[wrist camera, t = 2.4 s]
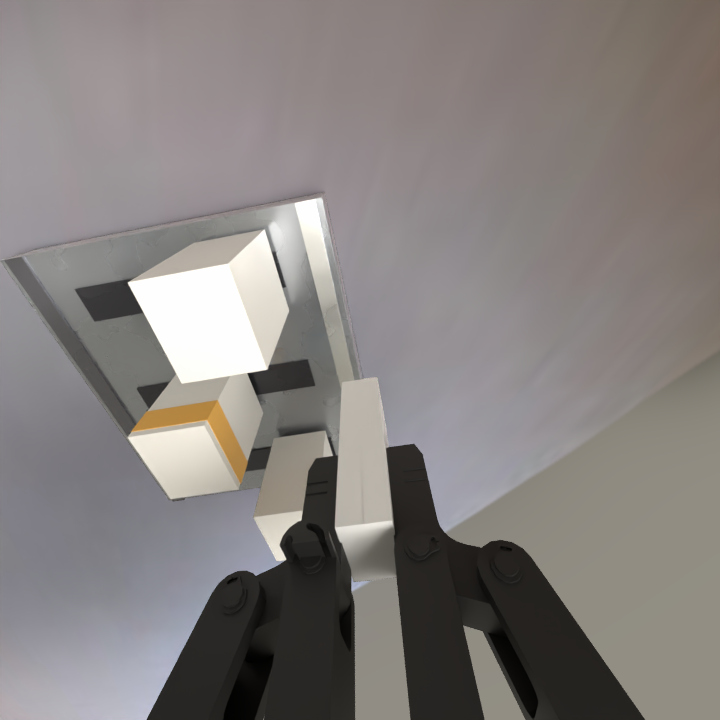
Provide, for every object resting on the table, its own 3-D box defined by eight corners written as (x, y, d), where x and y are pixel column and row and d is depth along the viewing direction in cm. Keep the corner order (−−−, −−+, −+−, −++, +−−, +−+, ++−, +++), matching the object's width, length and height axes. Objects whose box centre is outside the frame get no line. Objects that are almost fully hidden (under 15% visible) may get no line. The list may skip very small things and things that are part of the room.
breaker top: (226, 321, 16) (181, 383, 12) (193, 242, 14) (127, 282, 10) (289, 310, 16) (267, 369, 12) (264, 229, 14) (228, 263, 10)
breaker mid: (210, 421, 19) (170, 499, 15) (181, 366, 17) (126, 437, 13) (263, 413, 19) (239, 489, 15) (240, 356, 17) (204, 425, 13)
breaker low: (290, 480, 22) (277, 561, 17) (273, 438, 20) (253, 517, 16) (338, 473, 22) (335, 553, 17) (325, 430, 20) (318, 508, 15)
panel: (181, 476, 25) (168, 502, 23) (35, 249, 17) (-3, 261, 15) (377, 447, 24) (379, 472, 22) (324, 192, 16) (321, 197, 14)
